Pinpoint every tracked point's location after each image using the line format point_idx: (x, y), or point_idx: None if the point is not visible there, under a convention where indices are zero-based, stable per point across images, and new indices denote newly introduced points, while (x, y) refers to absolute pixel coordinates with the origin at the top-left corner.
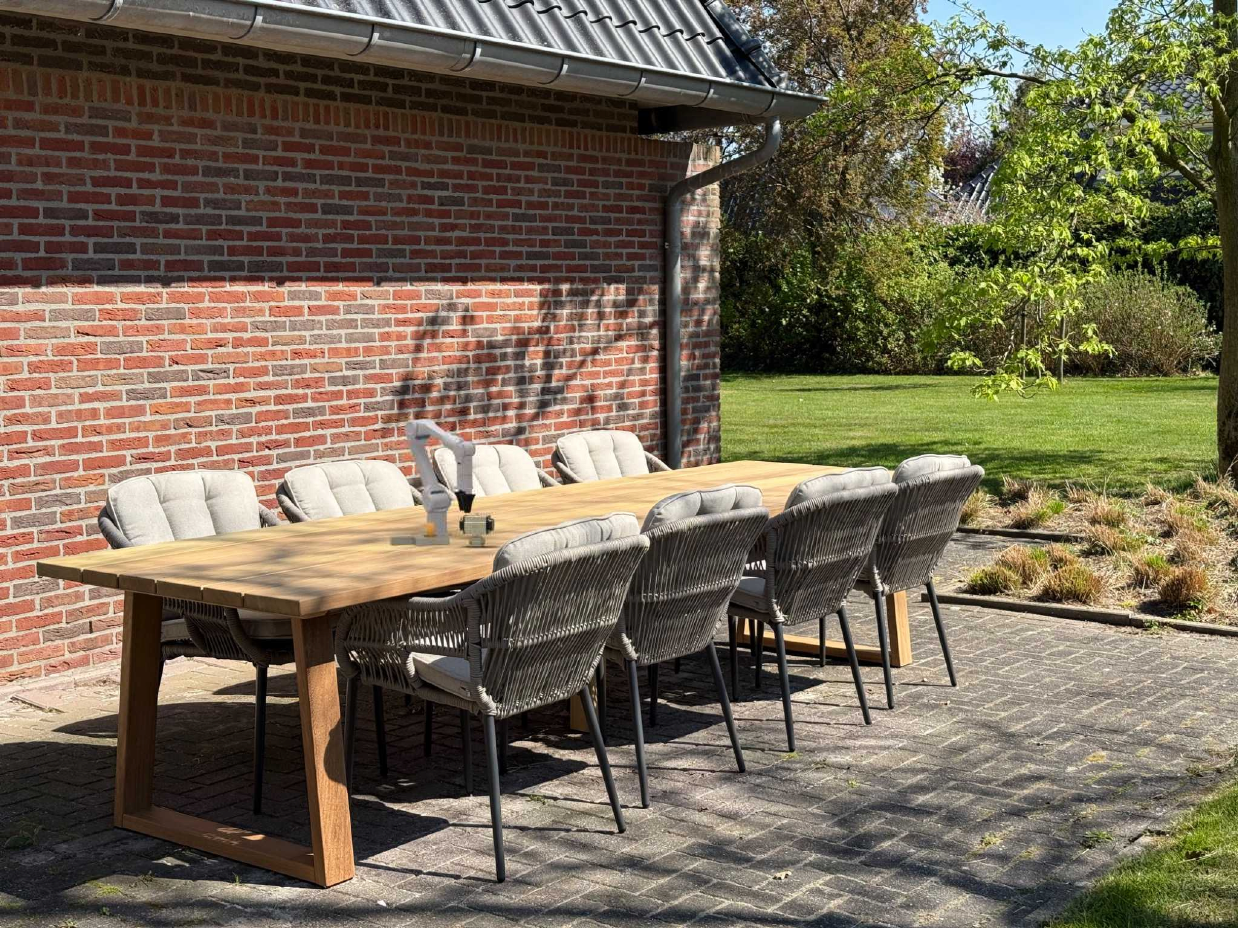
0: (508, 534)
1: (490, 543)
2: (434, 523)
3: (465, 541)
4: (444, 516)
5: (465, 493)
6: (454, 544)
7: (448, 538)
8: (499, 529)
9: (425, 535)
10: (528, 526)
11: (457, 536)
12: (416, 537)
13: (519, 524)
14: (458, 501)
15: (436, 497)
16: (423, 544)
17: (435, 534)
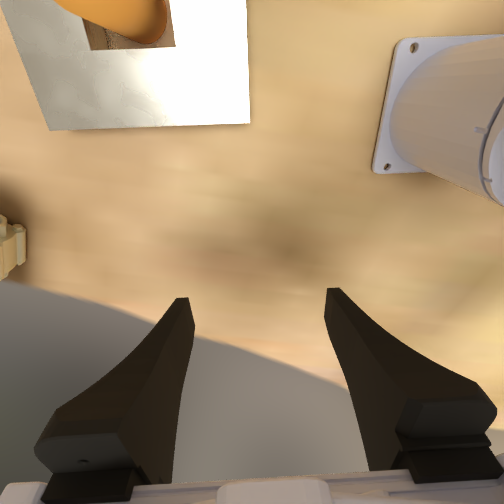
0: (313, 357)
1: (103, 290)
2: (74, 13)
3: (170, 213)
4: (458, 175)
5: (94, 477)
6: (67, 149)
7: (51, 122)
8: (439, 350)
9: None
10: None
11: (341, 203)
12: None
13: (499, 397)
14: (356, 333)
15: None
16: None
17: (187, 52)
